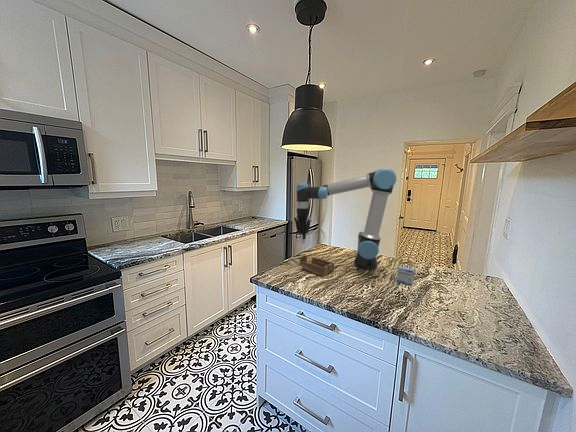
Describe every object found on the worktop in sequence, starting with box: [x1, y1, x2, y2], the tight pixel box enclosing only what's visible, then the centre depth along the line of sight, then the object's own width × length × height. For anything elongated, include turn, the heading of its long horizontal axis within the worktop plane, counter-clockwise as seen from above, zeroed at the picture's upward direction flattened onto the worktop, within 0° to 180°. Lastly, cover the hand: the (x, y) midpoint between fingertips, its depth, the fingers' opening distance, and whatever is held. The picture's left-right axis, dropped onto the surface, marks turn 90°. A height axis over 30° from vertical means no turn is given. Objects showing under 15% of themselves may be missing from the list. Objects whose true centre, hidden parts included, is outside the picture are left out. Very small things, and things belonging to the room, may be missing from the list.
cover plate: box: [286, 254, 308, 269], centre depth 166 cm, size 9×13×7 cm
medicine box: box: [396, 265, 415, 286], centre depth 139 cm, size 8×4×9 cm, turn 62°
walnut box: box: [301, 256, 335, 278], centre depth 154 cm, size 12×16×6 cm
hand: (302, 243), depth 161 cm, fingers closed
